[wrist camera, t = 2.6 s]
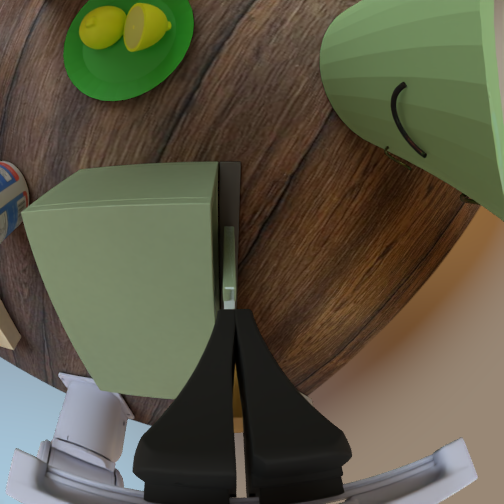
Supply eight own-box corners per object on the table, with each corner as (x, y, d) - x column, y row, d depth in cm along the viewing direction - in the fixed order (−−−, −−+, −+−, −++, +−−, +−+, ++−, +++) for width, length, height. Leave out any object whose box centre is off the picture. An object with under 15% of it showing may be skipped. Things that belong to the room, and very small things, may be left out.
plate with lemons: (194, -31, 9) (188, -50, 7) (198, 87, 13) (191, 86, 11) (69, 4, 9) (46, -4, 7) (73, 114, 13) (48, 120, 11)
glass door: (248, 226, 18) (267, 368, 9) (245, 308, 21) (256, 439, 12) (216, 226, 17) (206, 369, 9) (218, 308, 21) (216, 439, 12)
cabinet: (240, 161, 16) (246, 203, 10) (236, 332, 23) (239, 400, 18) (80, 169, 15) (20, 212, 9) (119, 328, 22) (100, 390, 17)
